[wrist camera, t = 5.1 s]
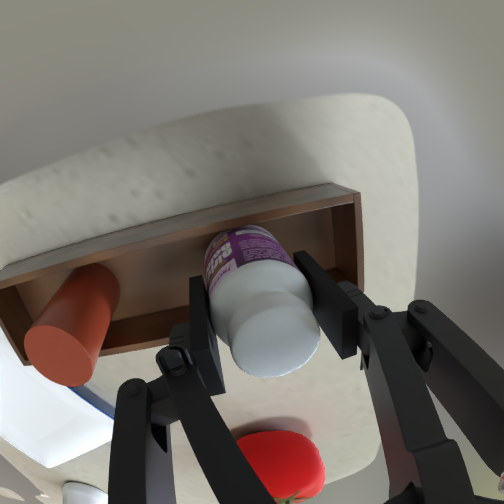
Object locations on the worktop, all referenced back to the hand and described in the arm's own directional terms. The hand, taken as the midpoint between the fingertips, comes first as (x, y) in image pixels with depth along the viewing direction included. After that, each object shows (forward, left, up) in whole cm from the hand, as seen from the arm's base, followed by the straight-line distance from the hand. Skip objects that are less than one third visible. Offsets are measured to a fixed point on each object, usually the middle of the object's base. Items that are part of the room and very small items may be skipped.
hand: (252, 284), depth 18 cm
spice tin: (+10, -7, -6) cm, 13 cm away
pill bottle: (0, 0, -4) cm, 4 cm away
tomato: (+18, +19, -7) cm, 27 cm away
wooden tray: (+5, -4, -6) cm, 9 cm away
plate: (+31, -11, -7) cm, 34 cm away
